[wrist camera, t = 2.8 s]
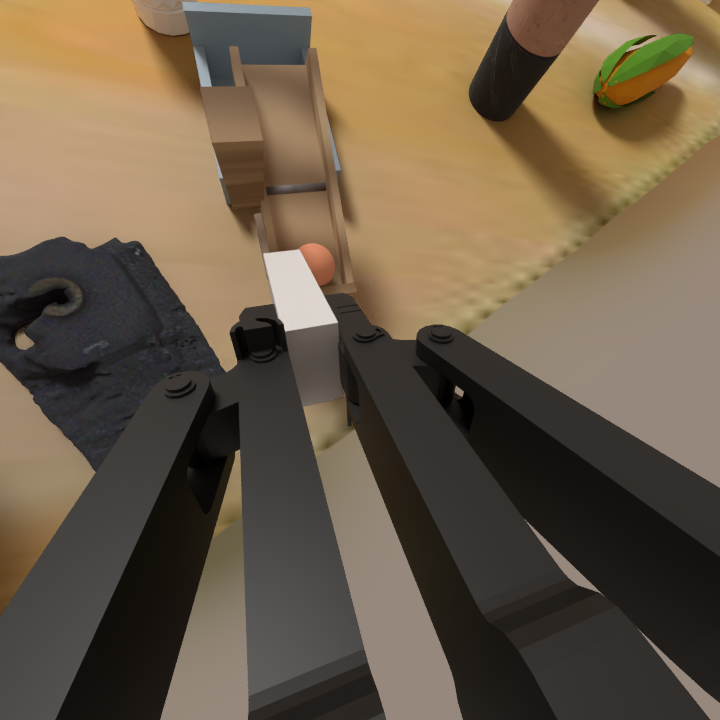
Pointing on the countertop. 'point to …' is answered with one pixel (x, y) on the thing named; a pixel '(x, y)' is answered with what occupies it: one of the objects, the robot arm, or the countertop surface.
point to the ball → (319, 262)
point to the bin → (247, 42)
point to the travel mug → (524, 52)
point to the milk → (706, 1)
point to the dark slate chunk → (95, 335)
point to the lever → (281, 157)
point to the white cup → (163, 15)
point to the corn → (640, 69)
